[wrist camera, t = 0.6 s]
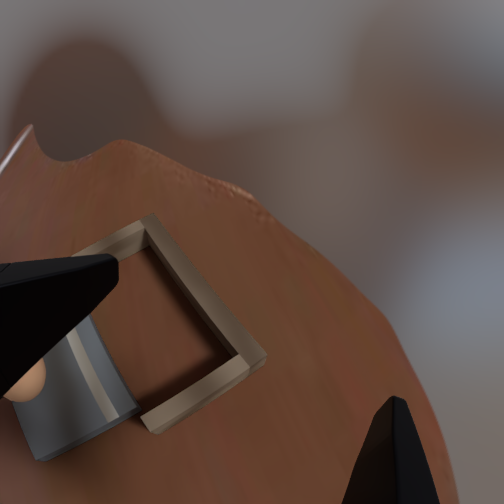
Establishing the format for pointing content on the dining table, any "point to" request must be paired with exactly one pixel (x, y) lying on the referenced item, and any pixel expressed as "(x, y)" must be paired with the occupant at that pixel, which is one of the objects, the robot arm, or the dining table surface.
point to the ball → (29, 384)
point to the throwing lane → (106, 372)
